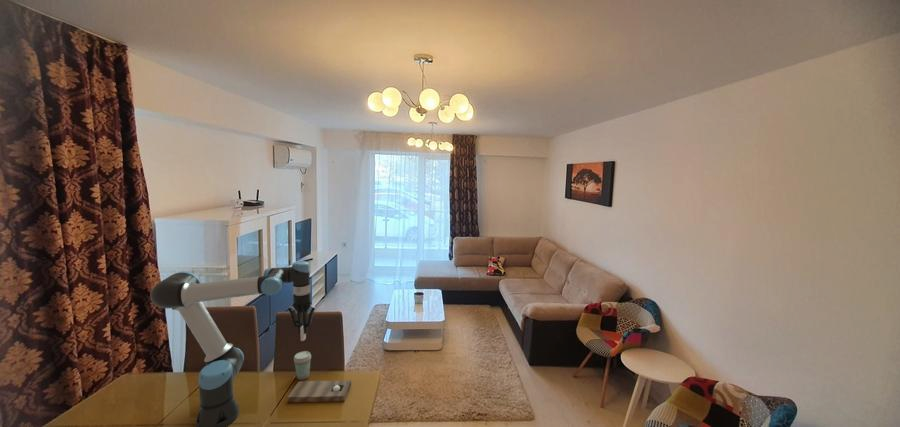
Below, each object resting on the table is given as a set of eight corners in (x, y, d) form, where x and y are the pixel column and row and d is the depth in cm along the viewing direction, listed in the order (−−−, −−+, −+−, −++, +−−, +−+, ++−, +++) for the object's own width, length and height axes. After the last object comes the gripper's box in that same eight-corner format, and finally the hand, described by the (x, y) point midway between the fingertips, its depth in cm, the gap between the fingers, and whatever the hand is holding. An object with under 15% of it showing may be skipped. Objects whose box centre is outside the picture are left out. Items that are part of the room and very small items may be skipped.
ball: (330, 389, 156) (337, 387, 156) (332, 384, 160) (339, 382, 160) (333, 396, 157) (340, 394, 157) (335, 391, 160) (342, 389, 160)
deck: (288, 402, 152) (287, 397, 151) (298, 386, 163) (298, 381, 163) (344, 401, 153) (344, 396, 152) (351, 385, 165) (351, 380, 164)
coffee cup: (305, 382, 166) (304, 360, 165) (290, 380, 168) (289, 358, 167) (315, 373, 175) (314, 351, 173) (301, 370, 176) (300, 349, 175)
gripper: (284, 296, 155) (286, 343, 157) (312, 296, 155) (313, 343, 158) (291, 290, 162) (293, 336, 165) (318, 290, 163) (319, 335, 165)
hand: (303, 339), depth 161 cm, fingers closed
